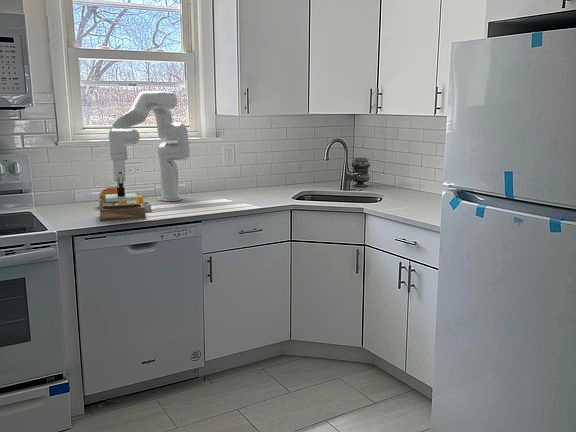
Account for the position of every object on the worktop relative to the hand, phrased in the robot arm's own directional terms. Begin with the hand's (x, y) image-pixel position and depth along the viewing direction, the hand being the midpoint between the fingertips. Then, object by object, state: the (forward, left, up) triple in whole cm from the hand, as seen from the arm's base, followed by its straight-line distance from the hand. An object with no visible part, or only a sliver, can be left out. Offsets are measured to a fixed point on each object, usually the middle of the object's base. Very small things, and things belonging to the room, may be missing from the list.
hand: (121, 195), depth 266 cm
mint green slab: (0, 0, -2) cm, 2 cm away
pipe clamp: (-14, +6, -11) cm, 19 cm away
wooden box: (0, 0, -10) cm, 10 cm away
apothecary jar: (-48, +149, -11) cm, 157 cm away
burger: (-30, -3, -11) cm, 32 cm away
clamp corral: (-14, +6, -10) cm, 18 cm away
